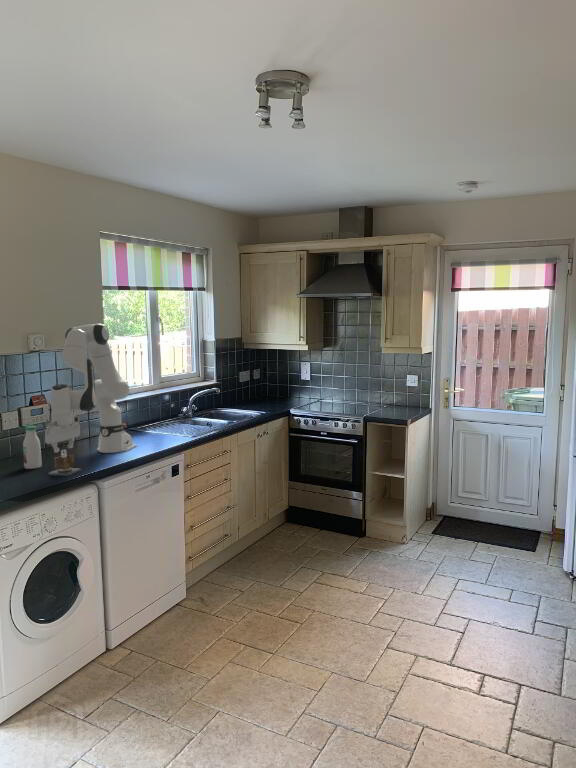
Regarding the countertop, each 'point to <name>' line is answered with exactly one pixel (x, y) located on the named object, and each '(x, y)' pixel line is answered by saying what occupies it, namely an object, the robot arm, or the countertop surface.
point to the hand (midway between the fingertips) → (63, 450)
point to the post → (64, 471)
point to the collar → (64, 462)
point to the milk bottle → (31, 449)
